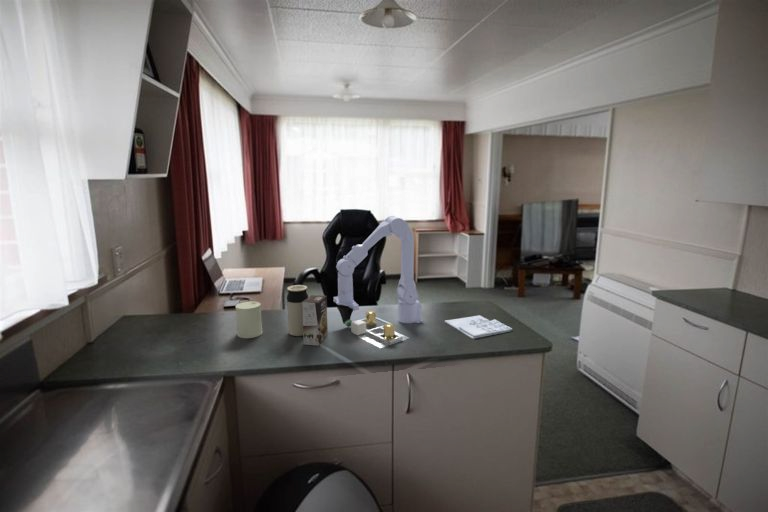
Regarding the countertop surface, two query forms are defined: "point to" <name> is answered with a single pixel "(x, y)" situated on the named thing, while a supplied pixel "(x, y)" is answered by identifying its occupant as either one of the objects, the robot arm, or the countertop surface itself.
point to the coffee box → (314, 319)
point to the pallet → (381, 337)
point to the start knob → (348, 322)
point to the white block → (358, 327)
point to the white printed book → (478, 326)
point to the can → (249, 319)
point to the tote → (377, 319)
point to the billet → (370, 318)
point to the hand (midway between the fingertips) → (346, 323)
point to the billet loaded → (389, 331)
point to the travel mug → (296, 308)
